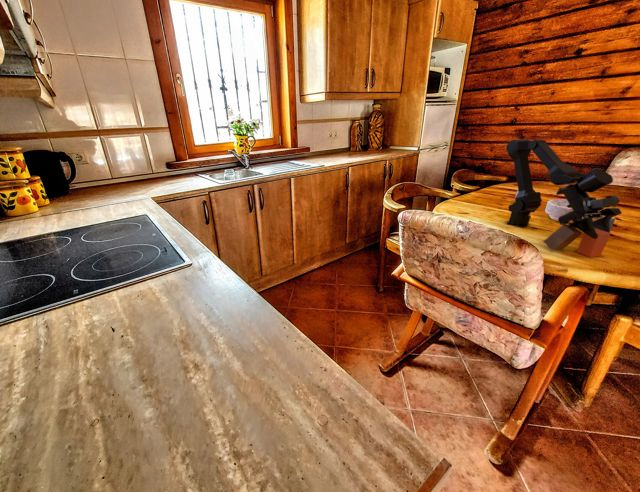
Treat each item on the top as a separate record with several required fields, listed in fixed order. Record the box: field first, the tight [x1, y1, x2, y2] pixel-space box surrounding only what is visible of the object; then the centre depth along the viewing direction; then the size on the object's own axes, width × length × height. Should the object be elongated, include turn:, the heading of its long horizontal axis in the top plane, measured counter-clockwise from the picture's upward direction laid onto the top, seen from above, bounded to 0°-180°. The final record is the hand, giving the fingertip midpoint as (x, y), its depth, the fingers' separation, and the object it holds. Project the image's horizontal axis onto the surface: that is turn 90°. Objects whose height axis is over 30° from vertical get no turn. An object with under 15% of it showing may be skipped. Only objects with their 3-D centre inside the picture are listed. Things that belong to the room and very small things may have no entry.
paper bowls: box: [544, 198, 573, 224], centre depth 128 cm, size 15×15×8 cm
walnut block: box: [543, 224, 584, 251], centre depth 102 cm, size 4×4×9 cm
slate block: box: [592, 217, 616, 231], centre depth 109 cm, size 4×4×9 cm
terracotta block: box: [576, 228, 611, 258], centre depth 99 cm, size 4×4×9 cm
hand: (602, 237), depth 96 cm, fingers closed on terracotta block, 4 cm apart
